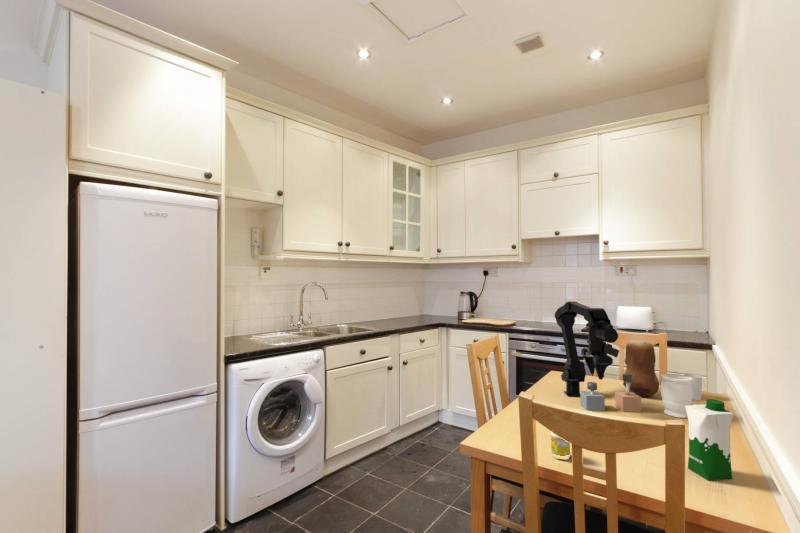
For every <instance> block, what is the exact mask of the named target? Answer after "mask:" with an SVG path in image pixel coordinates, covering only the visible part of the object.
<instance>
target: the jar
mask: <svg viewBox="0 0 800 533" xmlns="http://www.w3.org/2000/svg"><path fill="white" fill-rule="evenodd" d="M660 378H661V382H660V395H661V400H662V404H663V407H664V410H663V413H664V414H665V415H667V416H669V417H673V418H680V419H688V416H687V412H686V407H685V406H688V405H692V402H693V400H692V398H693V391H692V385H691V382H692V378H691V377H688V376H685V375H684V374H679V373H668V372H667V373H666V372H665V373H661V374H660Z"/></svg>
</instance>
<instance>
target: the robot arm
mask: <svg viewBox="0 0 800 533" xmlns="http://www.w3.org/2000/svg"><path fill="white" fill-rule="evenodd" d="M578 315H580V316H583V319H584V320H585V321H586V322H587V323H586V324H585V327H588V328H587V329H588V332H587V333H588V336H587V337H588V338H587V340H586V343H587V344H588V347H585V348H584V347H583V348H582V349H581V355H582V357H583V360H584V361H585V363H584V361H581V360H580V359H579V354H578V350H577V349H578V348H577V344H576V339H575V334H574V329H573V327H574V325H575V322H576V317H577V316H578ZM554 320H555V321H556V324H557V325H558V326H559V328H560V329H561V334H562V339H563V345H564V350H565V355H566V361H565V364H564V370H563V372H562V374H561V375H560V377H561V381H563V382H564V383H565V388H566V389H565V390H564V391H563V393H564V394H565V395H566V396H567V397H580V398H581V392H580V391H581V386H580V383H585V380H586V375H587V371H586V367H585V364H586V365H587V367H588V370H589V373H590V374H591V375H594V374H595V373H596V374H597V377H598V379H599V380H603V379H604V376H605V372H606V370H607V368H608V367H610V366H611V365H612V364H614V362H613V361H614V359H613V358H612V356H613V357H614V358H618V357H619V354H620V350H619V349H617V348H615V347H613V345H612V344H613V343H615V342H616V341H617V340H618V339H619V333H618V331H617V330H616V328H614V325H613V324H612V323H611V319H610V318H609V316H608V314H607V312H606V310H605V309H604V308H601V307H589V306H587V305H584V304H583V303H582V304H581V303H579V302H578V301H566V302H565V303H564V304H563V305H561V306H560V307H558V308H557V309H556V311H555V312H554ZM611 343H612V344H611ZM595 371H596V372H595Z"/></svg>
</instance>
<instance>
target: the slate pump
mask: <svg viewBox="0 0 800 533" xmlns="http://www.w3.org/2000/svg"><path fill="white" fill-rule="evenodd" d="M587 390H588V391H591V394H594V391H598V383H597V382H594V381H587Z"/></svg>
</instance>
